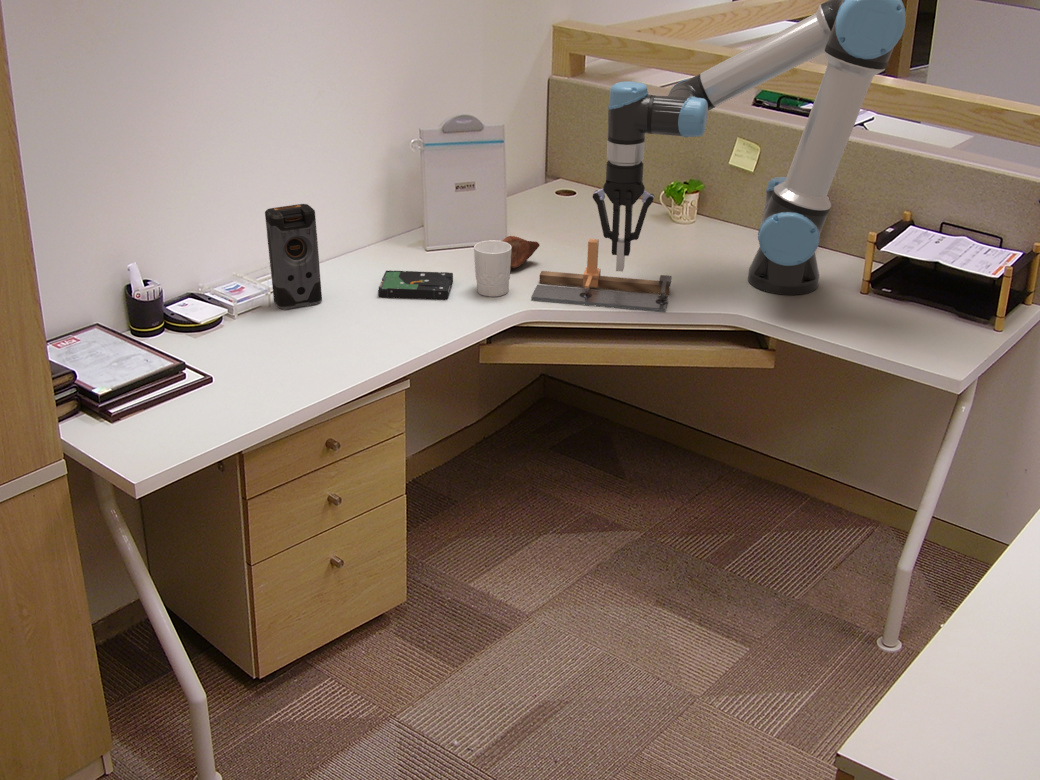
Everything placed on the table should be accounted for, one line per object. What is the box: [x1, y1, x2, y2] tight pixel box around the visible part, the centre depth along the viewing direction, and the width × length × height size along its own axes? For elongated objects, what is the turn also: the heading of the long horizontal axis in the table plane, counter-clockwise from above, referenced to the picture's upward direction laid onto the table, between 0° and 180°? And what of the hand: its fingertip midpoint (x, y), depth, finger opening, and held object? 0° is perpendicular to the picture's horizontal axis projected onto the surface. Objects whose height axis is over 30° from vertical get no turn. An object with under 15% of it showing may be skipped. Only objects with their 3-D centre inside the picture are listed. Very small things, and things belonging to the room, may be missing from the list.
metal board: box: [530, 284, 669, 313], centre depth 226 cm, size 28×7×1 cm, turn 79°
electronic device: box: [264, 203, 323, 311], centre depth 219 cm, size 9×6×20 cm, turn 117°
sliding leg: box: [583, 238, 601, 294], centre depth 228 cm, size 3×10×10 cm, turn 169°
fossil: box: [501, 235, 540, 269], centre depth 241 cm, size 13×8×10 cm
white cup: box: [473, 239, 512, 298], centre depth 228 cm, size 8×8×10 cm
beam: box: [539, 270, 673, 300], centre depth 229 cm, size 28×10×3 cm, turn 79°
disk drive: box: [377, 270, 454, 301], centre depth 230 cm, size 10×3×15 cm
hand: (620, 269), depth 231 cm, fingers closed
